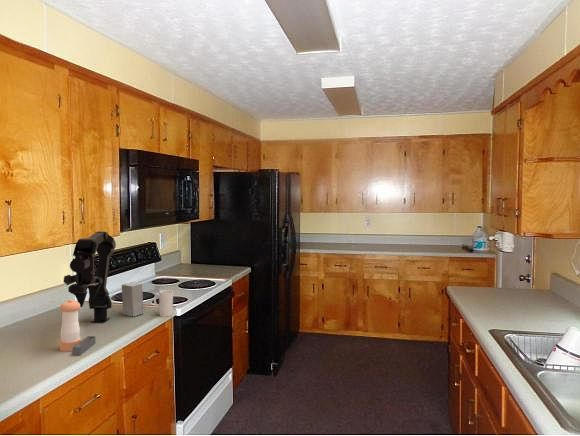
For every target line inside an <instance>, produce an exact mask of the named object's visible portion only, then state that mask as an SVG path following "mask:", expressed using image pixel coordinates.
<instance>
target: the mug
mask: <svg viewBox="0 0 580 436" xmlns="http://www.w3.org/2000/svg"><path fill="white" fill-rule="evenodd" d="M157 298H158V302H157ZM153 303H154V306H155V309H156V310H158V313H159V316H160V317H161V318H162V317H163V318H167V317H171V316H172V315H173V309H174V308H173V305H174V291H173V290H169V289H167V290H166V289H164V290H159V292H155V295H154V297H153Z"/></svg>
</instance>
